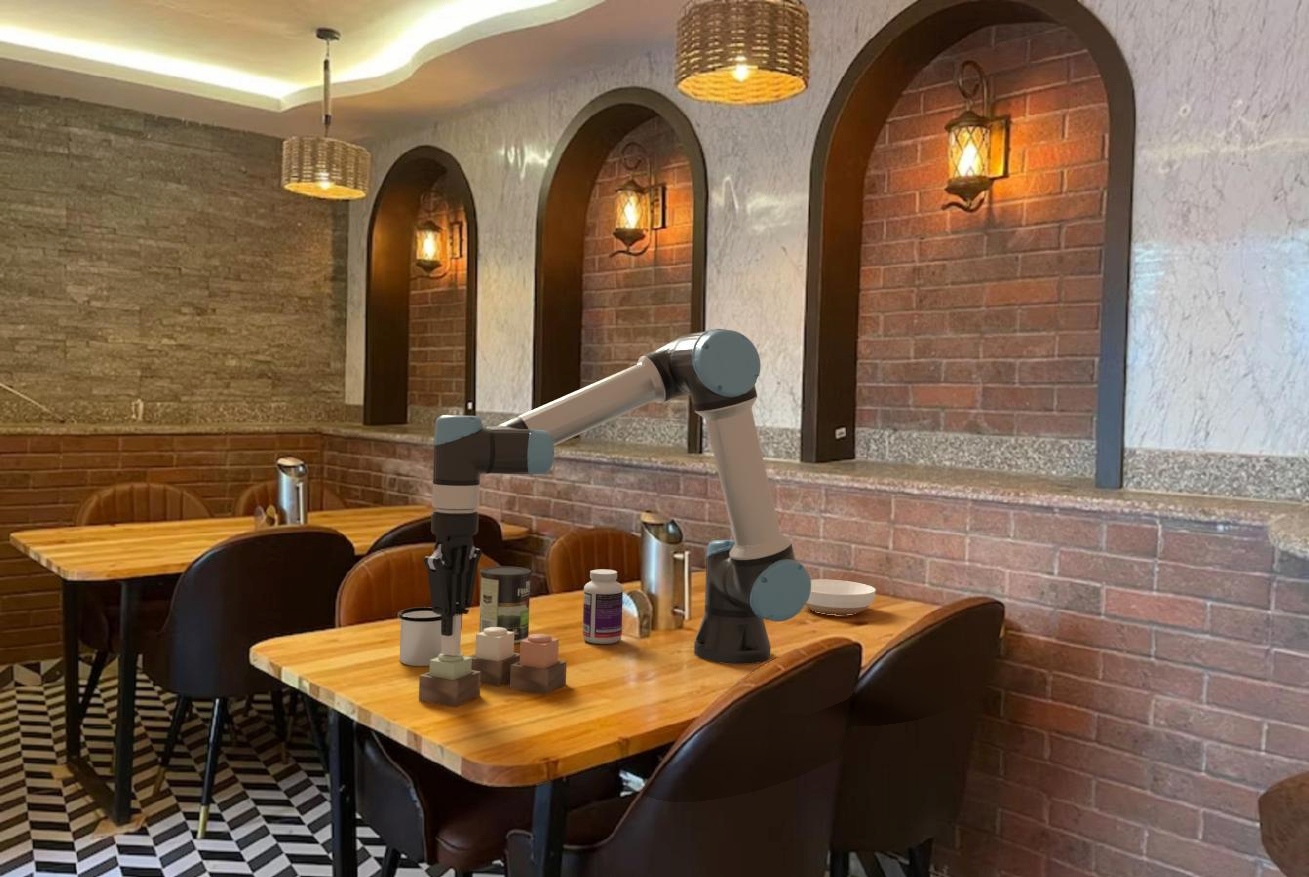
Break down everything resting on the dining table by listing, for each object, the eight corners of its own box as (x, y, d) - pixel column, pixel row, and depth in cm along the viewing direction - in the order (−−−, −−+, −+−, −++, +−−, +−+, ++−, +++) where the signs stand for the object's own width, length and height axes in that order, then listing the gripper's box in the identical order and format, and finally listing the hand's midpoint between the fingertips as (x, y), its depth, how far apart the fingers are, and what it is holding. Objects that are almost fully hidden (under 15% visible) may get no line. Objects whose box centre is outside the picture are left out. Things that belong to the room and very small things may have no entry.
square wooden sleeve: (521, 676, 172) (522, 654, 172) (499, 686, 166) (500, 663, 166) (488, 670, 175) (488, 648, 175) (465, 680, 169) (466, 657, 168)
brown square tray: (479, 695, 160) (480, 671, 160) (454, 706, 154) (455, 682, 154) (444, 688, 163) (445, 665, 163) (418, 699, 157) (419, 675, 156)
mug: (415, 670, 173) (416, 620, 173) (386, 659, 180) (387, 611, 179) (470, 659, 182) (471, 611, 182) (440, 649, 188) (442, 603, 188)
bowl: (885, 610, 241) (887, 586, 241) (857, 624, 224) (859, 598, 224) (812, 599, 251) (813, 576, 251) (780, 612, 235) (782, 586, 235)
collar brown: (565, 683, 169) (566, 661, 168) (545, 694, 162) (546, 670, 162) (531, 677, 171) (531, 655, 171) (509, 688, 165) (510, 664, 165)
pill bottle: (628, 639, 202) (630, 570, 201) (610, 647, 194) (612, 576, 194) (593, 634, 205) (596, 566, 205) (575, 642, 198) (577, 572, 197)
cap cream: (513, 665, 171) (514, 628, 171) (498, 672, 167) (499, 634, 167) (490, 661, 173) (491, 625, 173) (474, 668, 169) (476, 630, 169)
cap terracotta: (557, 673, 168) (558, 635, 168) (543, 680, 163) (544, 641, 163) (533, 669, 170) (534, 631, 170) (519, 675, 165) (520, 637, 165)
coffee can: (535, 634, 203) (537, 567, 202) (519, 646, 193) (521, 576, 192) (489, 630, 205) (491, 564, 204) (470, 642, 195) (472, 572, 194)
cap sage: (470, 693, 160) (471, 653, 159) (453, 701, 155) (454, 660, 155) (446, 689, 162) (447, 649, 161) (428, 696, 157) (429, 656, 157)
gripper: (459, 505, 165) (455, 642, 166) (411, 511, 153) (406, 659, 154) (497, 508, 162) (492, 648, 163) (450, 515, 150) (445, 666, 151)
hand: (450, 653), depth 158 cm, fingers closed
